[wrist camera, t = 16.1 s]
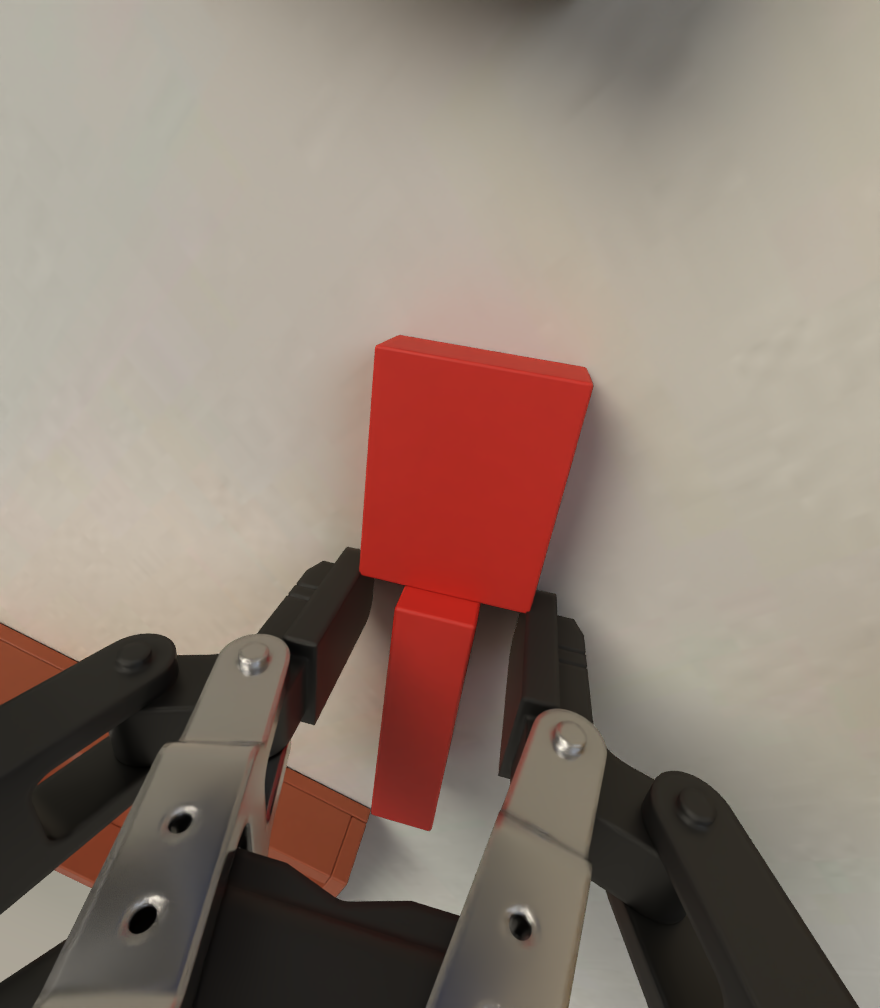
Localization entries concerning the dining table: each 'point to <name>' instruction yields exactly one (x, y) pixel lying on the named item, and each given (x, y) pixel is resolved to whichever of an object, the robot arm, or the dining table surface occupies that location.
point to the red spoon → (455, 528)
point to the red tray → (300, 811)
